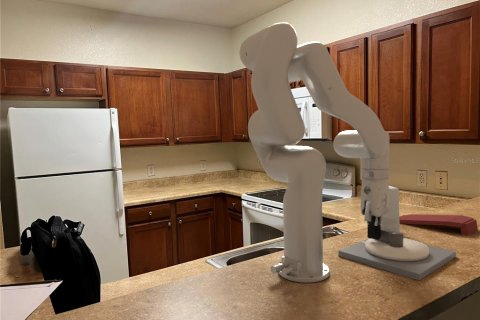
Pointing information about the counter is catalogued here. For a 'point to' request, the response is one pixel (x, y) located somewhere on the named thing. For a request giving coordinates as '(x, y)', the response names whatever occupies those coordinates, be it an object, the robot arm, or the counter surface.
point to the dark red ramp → (442, 221)
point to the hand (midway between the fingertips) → (374, 238)
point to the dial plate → (400, 267)
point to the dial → (396, 247)
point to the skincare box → (392, 212)
